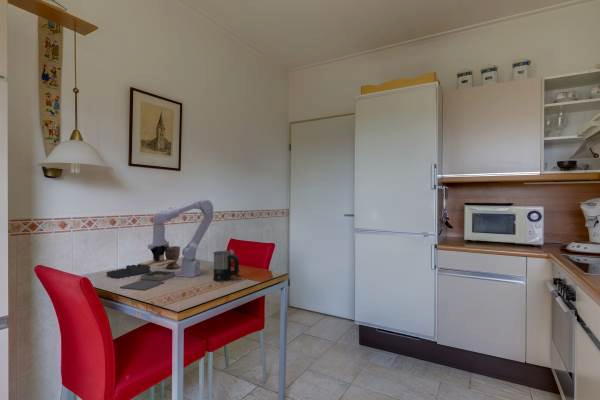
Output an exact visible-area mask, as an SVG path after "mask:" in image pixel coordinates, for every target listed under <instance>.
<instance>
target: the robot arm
mask: <svg viewBox="0 0 600 400" xmlns="http://www.w3.org/2000/svg"><path fill="white" fill-rule="evenodd" d="M195 209H196V210H200V211H201V213H202V216H203V218H202V220H201V222H200V223H199V225H198V227H197V228H196V231H195V233H194V234H193V236H192V238H191V239H190V241H189V242H188V243H187V245H186V246H185V247H184V248H183V249H182V251H181V253H182V256H183V257H182V258H181V274H178V277H184V278H185V277H187V278H188V277H189V278H195V277H197V276H199V275H202V274H201V262H200V260H198V259H196V252H197V250H198V248H199V244H200V243H201V241H202V239H203V238H204V235H206V232H207V230H208V228H209V226H210V225H211V224H212V221H213V220H214V206H213V203H212V202H211V201H210V200H209V199H201V200H196V201H193V202H190V203H188V204H185V205H183V206H180V207H178V208H177V207H174V206H173V207H169V209H166V210H164V211H163V210H161V211H160V212H157V213H155V214H154V216H153V218H152V219H153V226H152V227H153V228H152V243H151V244H148V245H147V249H149V250H150V252H151V253H152V257H153V256H154V260H155V261H159V255H164V256H165V251H166V249H167V246H166V245H169V246H170V241H167V242H165V239H166V237H165V235H166V234H165V233H166V232H165V231H166V227H165V222H169V221H171V220H173V219H176V218H178V217H179V216H180V215H181V214H183V213H185V212H189V211H191V210H195Z"/></svg>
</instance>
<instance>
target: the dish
mask: <svg viewBox="0 0 600 400" xmlns="http://www.w3.org/2000/svg"><path fill="white" fill-rule="evenodd" d="M175 276H176V272H175V271H165V270H153V271H152V272H150V273H147V274H142V275H140V280H148V281H159V282H164V281H165V280H167V279H170V278H173V277H175Z"/></svg>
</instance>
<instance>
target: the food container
mask: <svg viewBox="0 0 600 400" xmlns="http://www.w3.org/2000/svg"><path fill="white" fill-rule="evenodd" d="M229 251H230V252H231V253H230V255H235V251H234V250H233V249H232V248H231V249H230V250H229ZM232 264H233V259H231V267H232V266H233V265H232Z"/></svg>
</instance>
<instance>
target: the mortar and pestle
mask: <svg viewBox="0 0 600 400" xmlns="http://www.w3.org/2000/svg"><path fill="white" fill-rule="evenodd" d="M165 242H168V241H167V240H166V238H165ZM166 246H167V249H166V251H165V253H164V257H165V260H176V262H173V263H170V264H167V265H166V267H165V268H166V269H167V270H177V269H179V268H180V265H179V264H178V263H177V262H178V260H179V257H180V254H181V246H177V245H174V246H173V245H171V246H170V244H169V245H166Z"/></svg>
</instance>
